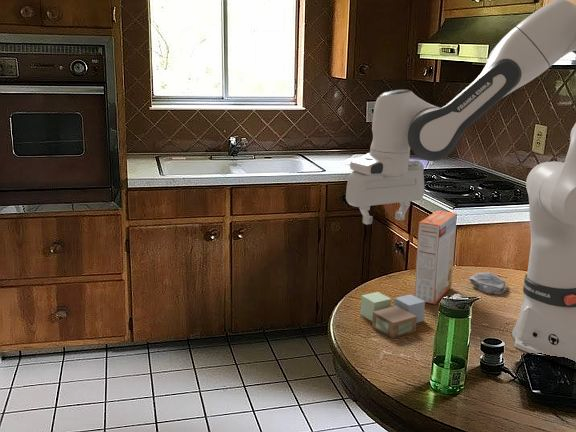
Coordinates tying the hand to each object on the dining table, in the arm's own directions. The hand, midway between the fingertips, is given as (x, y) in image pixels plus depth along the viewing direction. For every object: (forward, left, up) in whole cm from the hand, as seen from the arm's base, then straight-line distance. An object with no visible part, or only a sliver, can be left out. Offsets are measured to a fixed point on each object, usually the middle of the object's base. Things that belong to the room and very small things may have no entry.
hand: (383, 221), depth 150 cm
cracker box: (+3, -21, -23) cm, 31 cm away
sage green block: (-1, +1, -23) cm, 23 cm away
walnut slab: (-8, +2, -24) cm, 25 cm away
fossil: (0, -38, -24) cm, 45 cm away
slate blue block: (-6, -5, -23) cm, 24 cm away
